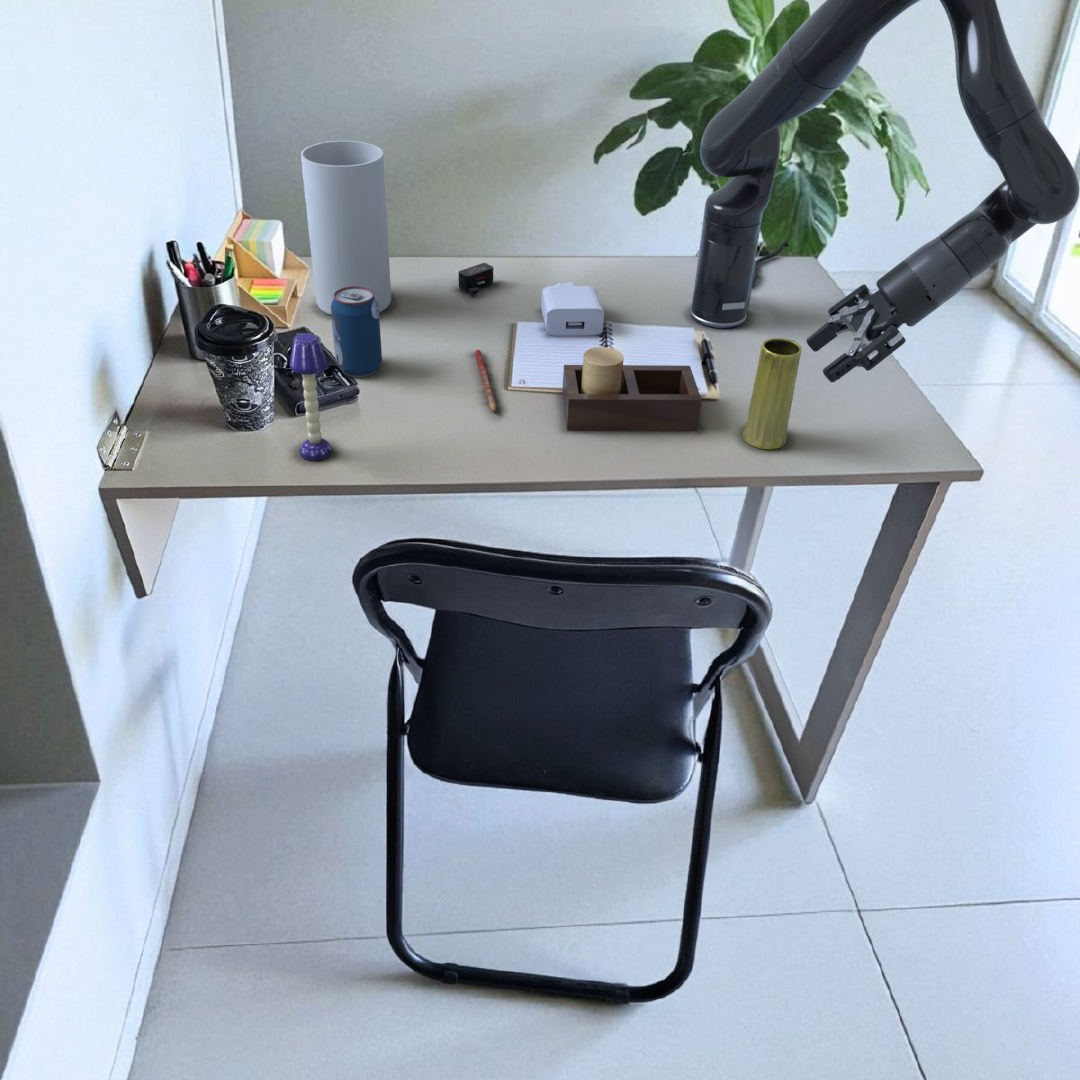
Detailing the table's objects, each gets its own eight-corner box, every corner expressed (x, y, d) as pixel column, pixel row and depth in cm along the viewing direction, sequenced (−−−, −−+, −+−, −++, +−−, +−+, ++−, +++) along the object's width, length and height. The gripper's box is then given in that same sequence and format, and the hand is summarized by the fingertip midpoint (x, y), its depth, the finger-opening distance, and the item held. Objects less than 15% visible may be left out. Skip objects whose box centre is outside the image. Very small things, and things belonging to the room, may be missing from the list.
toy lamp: (302, 442, 141) (288, 329, 131) (336, 441, 142) (326, 329, 132) (298, 461, 138) (284, 347, 127) (334, 461, 138) (322, 346, 128)
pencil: (474, 354, 163) (474, 349, 162) (481, 354, 163) (481, 348, 162) (491, 417, 148) (491, 411, 148) (498, 416, 148) (498, 410, 148)
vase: (789, 432, 148) (808, 340, 139) (782, 454, 143) (802, 360, 135) (746, 423, 149) (762, 332, 141) (738, 445, 145) (755, 352, 136)
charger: (590, 296, 182) (602, 335, 170) (537, 297, 181) (546, 336, 169) (591, 270, 179) (604, 308, 167) (538, 271, 178) (547, 309, 166)
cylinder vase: (335, 284, 182) (322, 137, 167) (402, 294, 180) (395, 146, 164) (303, 313, 172) (286, 160, 157) (374, 325, 170) (363, 170, 155)
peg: (596, 398, 154) (600, 343, 148) (626, 412, 151) (631, 356, 145) (571, 412, 150) (575, 355, 145) (601, 426, 147) (606, 369, 142)
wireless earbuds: (453, 290, 182) (453, 272, 180) (484, 279, 186) (484, 262, 184) (471, 299, 179) (471, 281, 177) (501, 288, 183) (502, 270, 181)
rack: (562, 394, 154) (563, 364, 151) (685, 395, 155) (690, 365, 152) (566, 430, 146) (568, 399, 143) (697, 430, 147) (701, 399, 144)
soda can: (391, 364, 160) (387, 290, 152) (366, 383, 155) (361, 308, 147) (352, 353, 162) (346, 280, 155) (327, 372, 157) (320, 298, 150)
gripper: (890, 239, 137) (789, 319, 143) (928, 284, 126) (816, 369, 132) (919, 278, 140) (819, 354, 147) (959, 325, 129) (848, 406, 135)
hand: (818, 361), depth 139 cm, fingers open, 8 cm apart
